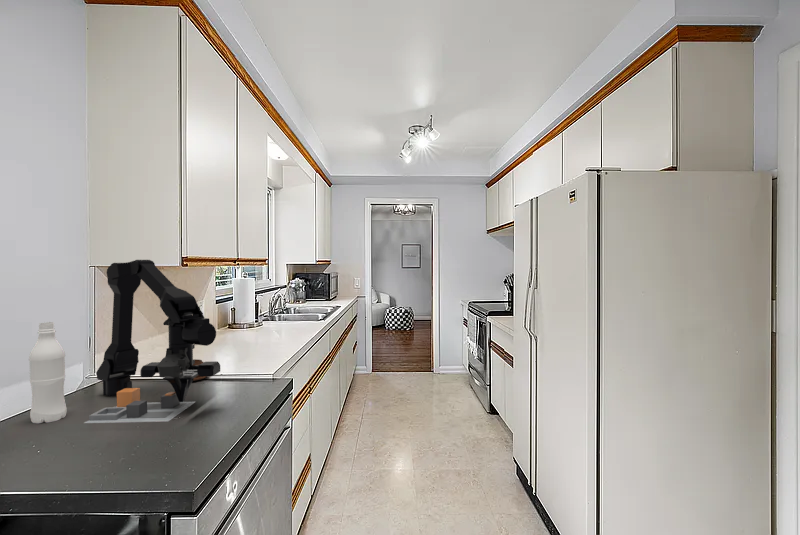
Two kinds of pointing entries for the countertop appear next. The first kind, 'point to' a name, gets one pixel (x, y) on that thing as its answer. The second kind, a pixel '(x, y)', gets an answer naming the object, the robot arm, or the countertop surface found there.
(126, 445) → the countertop surface
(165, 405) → the block
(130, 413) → the panel
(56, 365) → the water bottle
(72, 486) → the countertop surface
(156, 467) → the countertop surface
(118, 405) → the cap
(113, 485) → the countertop surface
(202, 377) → the cup and saucer
